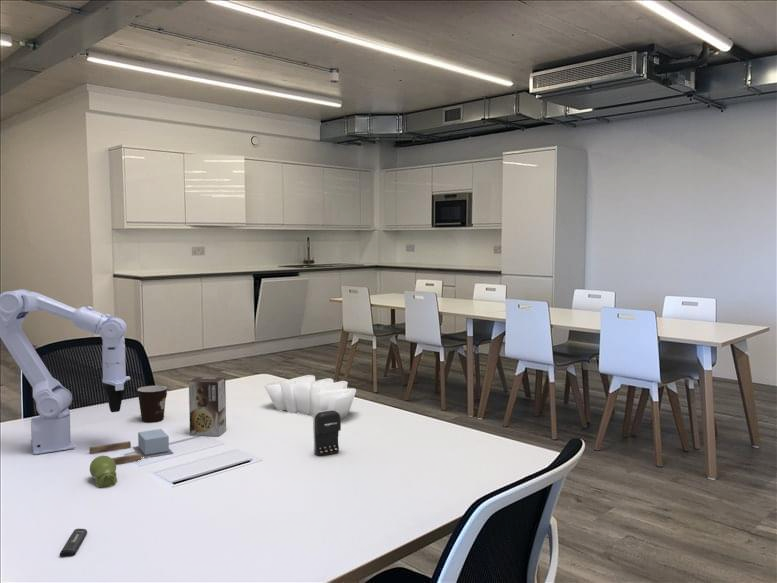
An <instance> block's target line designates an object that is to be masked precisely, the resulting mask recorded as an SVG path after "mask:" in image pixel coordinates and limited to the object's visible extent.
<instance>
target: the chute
mask: <svg viewBox="0 0 777 583" xmlns="http://www.w3.org/2000/svg"><path fill="white" fill-rule="evenodd" d="M131 443H132V442H131V441H130V440H129V441H122V442H121V441H120V442H116V443H115V442H114V443H109V444H103V445H102V444H101V445H95V446H89V454H90V455H93V454H99V453H106V452H112V451H119V450H124V449H125V450H127V449H130V448H131V447H132V446H131V445H132V444H131ZM111 458H112V459H113V460H114V462H115V464H116V466H117V465H123V464H129V462H130V463H134V462H133V461H136V462H139V461H138V460H141V461H142V458H141V454H138V453H134V454H129V455H123V456H117V457H111Z"/></svg>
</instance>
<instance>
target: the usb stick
mask: <svg viewBox="0 0 777 583" xmlns="http://www.w3.org/2000/svg"><path fill="white" fill-rule="evenodd" d="M87 534H88V531H87V529H86V528H75V529H74V530H73V531H72V533H71V535H69V537H68V540H67V541H66V542H65V544H64V546H63V547H62V548H61V551H60V552H59V556H60V557H61V558H67V557H68V558H69V557H74V556H76V554H77V551H78V550H79V549H80V547H81V545H82V544H83V541H84V540H85V538H84V537H86V536H87ZM79 546H80V547H79Z"/></svg>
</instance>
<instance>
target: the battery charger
mask: <svg viewBox="0 0 777 583" xmlns="http://www.w3.org/2000/svg"><path fill="white" fill-rule="evenodd" d="M341 422H342V420H341V418H340V414H339V413H338V412H336V411H335V410H326V411H320V412H317V413H316V414H315V415H314V418H313V422H312V423H313V426H312V428H313V430H312V431H313V453H314V455H317V456H327V455H333V454H337V453H339V451H340V447H339V433H340V431H342V430H341V429H342V428H341V427H342V423H341Z"/></svg>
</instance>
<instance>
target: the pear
mask: <svg viewBox="0 0 777 583" xmlns="http://www.w3.org/2000/svg"><path fill="white" fill-rule="evenodd" d="M112 458H113V457H110V456H107V455H99V456H97V457H95V458H94V459H93V460H91V463H90V464H89V474H90V475H91V477H93V478H94V480H95V486H97V487H98V488H106V487H112V486H115V485H116V484H117V481H118V478H117V465H116V464H115V462H114V460H113V459H112Z"/></svg>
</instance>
